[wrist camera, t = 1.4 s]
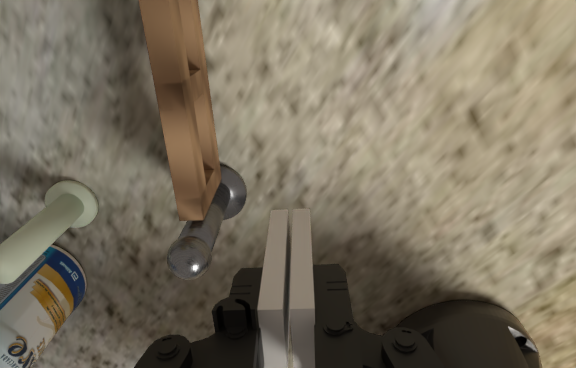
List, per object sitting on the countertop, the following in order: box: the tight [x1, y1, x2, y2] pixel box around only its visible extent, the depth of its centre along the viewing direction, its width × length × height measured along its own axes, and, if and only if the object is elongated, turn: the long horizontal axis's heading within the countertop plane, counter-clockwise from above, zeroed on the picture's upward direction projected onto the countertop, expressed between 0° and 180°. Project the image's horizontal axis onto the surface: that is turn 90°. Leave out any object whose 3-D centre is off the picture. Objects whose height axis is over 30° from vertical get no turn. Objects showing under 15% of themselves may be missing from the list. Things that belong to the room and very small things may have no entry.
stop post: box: [0, 180, 99, 284], centre depth 32 cm, size 4×4×10 cm
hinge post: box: [167, 165, 247, 280], centre depth 31 cm, size 5×5×12 cm
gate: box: [139, 0, 222, 221], centre depth 28 cm, size 16×2×7 cm, turn 3°
